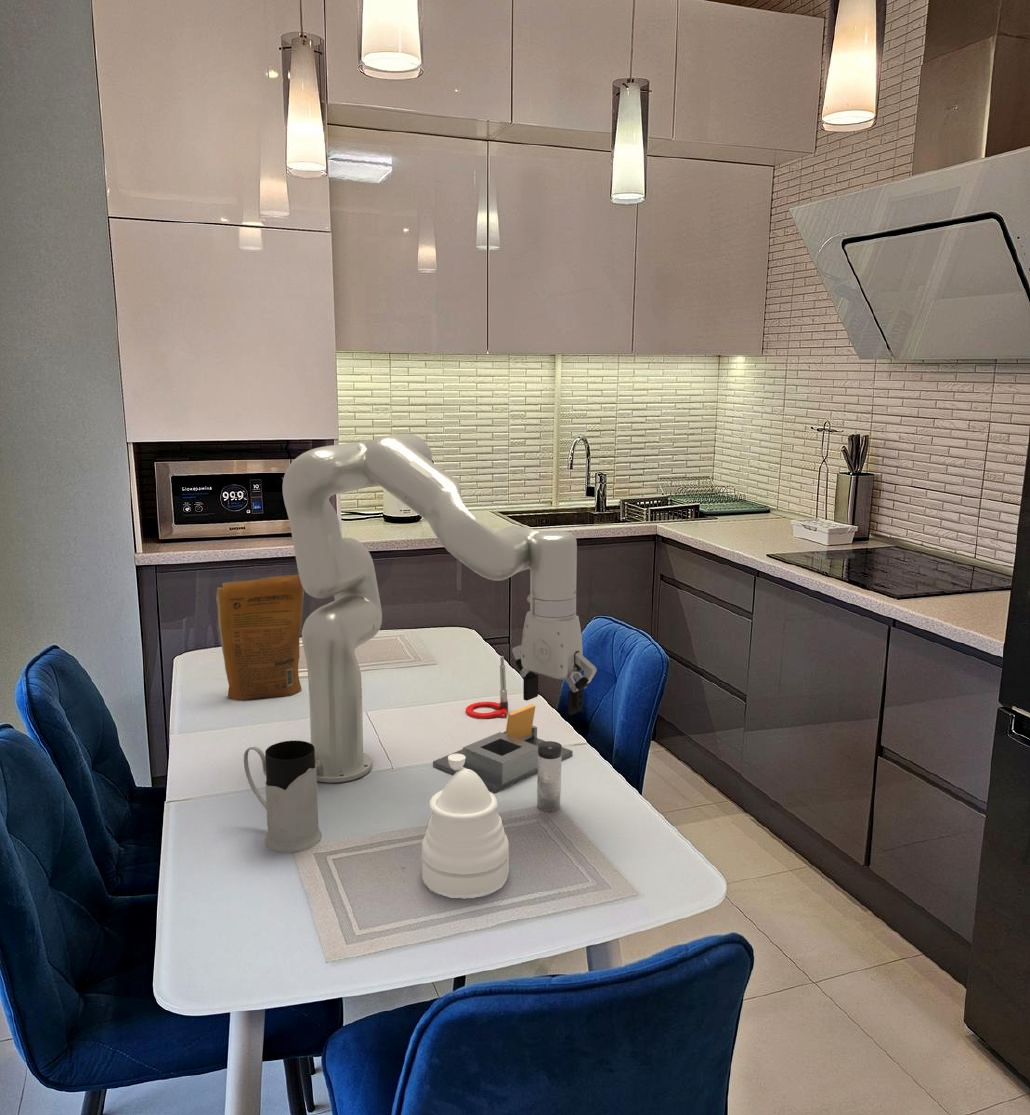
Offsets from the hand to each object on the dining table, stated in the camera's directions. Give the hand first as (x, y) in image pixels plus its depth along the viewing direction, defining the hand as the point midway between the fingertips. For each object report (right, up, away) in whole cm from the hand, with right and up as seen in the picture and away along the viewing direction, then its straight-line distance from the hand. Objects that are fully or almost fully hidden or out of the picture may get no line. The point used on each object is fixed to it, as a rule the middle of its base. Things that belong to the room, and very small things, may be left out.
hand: (552, 705), depth 152 cm
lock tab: (-6, -11, +27) cm, 30 cm away
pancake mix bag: (-63, -7, +54) cm, 84 cm away
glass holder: (-44, -20, -7) cm, 49 cm away
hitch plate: (-9, -14, +21) cm, 27 cm away
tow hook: (-13, -9, +46) cm, 49 cm away
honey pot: (-14, -22, -18) cm, 32 cm away
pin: (-1, -18, +4) cm, 18 cm away
